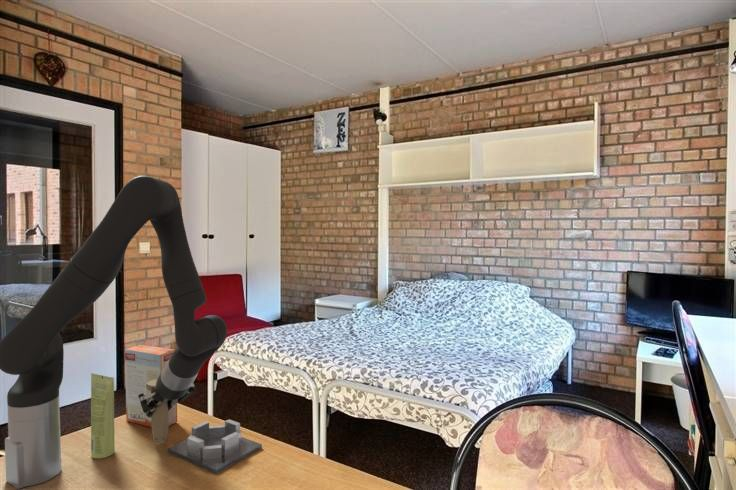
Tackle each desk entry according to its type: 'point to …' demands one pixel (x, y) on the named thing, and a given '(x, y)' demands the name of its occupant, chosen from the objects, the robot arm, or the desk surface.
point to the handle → (159, 418)
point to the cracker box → (144, 380)
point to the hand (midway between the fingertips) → (156, 411)
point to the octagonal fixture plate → (215, 446)
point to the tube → (102, 416)
